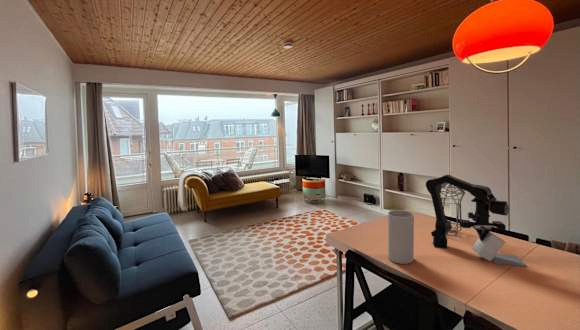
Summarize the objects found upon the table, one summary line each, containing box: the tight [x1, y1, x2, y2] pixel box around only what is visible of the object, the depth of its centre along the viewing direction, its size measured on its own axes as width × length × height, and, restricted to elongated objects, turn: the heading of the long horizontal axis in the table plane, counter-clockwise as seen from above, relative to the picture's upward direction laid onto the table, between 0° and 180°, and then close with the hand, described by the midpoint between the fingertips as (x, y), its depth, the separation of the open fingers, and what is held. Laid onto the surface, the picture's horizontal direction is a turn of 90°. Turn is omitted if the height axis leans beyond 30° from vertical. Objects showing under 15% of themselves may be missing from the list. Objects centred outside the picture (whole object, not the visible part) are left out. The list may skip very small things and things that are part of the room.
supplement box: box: [471, 231, 506, 262], centre depth 141 cm, size 7×7×13 cm
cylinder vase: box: [387, 209, 415, 265], centre depth 144 cm, size 12×12×25 cm
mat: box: [491, 253, 528, 268], centre depth 139 cm, size 13×11×1 cm
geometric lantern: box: [440, 183, 466, 237], centre depth 174 cm, size 16×16×35 cm
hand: (481, 240), depth 141 cm, fingers closed
